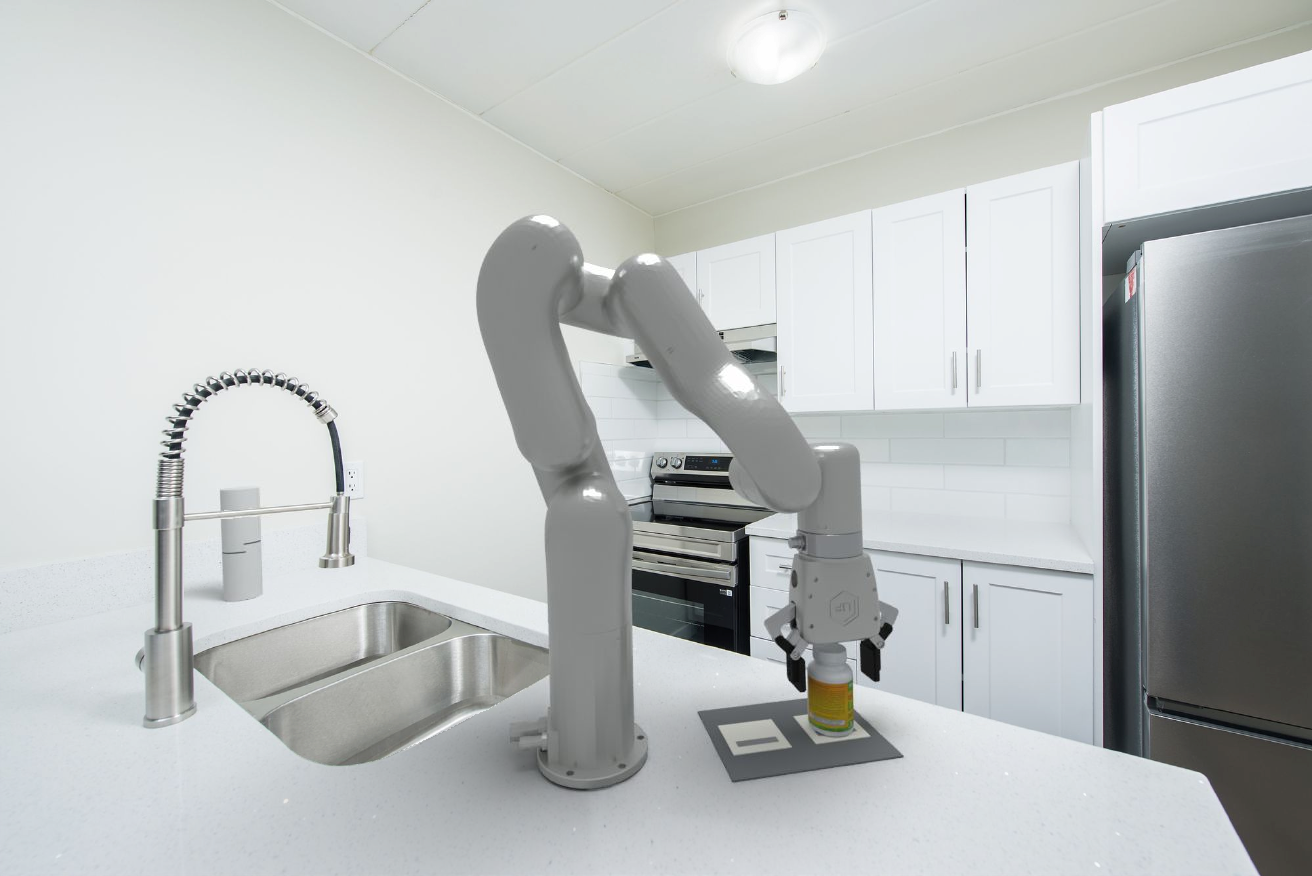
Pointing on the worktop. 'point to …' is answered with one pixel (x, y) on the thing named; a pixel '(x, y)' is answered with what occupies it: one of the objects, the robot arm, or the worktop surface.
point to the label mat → (787, 741)
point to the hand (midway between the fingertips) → (834, 681)
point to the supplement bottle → (830, 691)
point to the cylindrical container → (241, 545)
